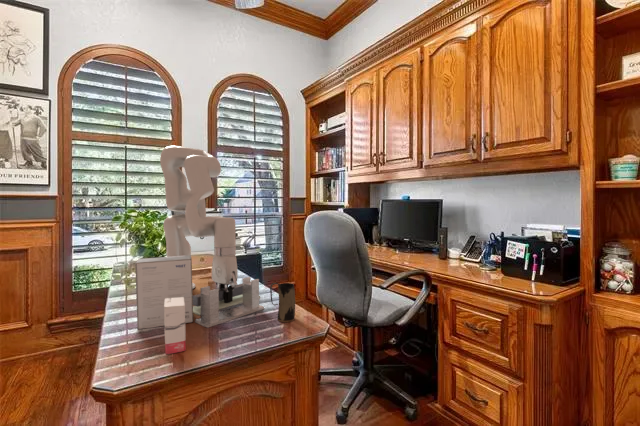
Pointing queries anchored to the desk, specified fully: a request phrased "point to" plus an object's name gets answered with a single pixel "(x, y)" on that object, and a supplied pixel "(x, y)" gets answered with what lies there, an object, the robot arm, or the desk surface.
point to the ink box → (174, 325)
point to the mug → (285, 302)
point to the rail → (237, 291)
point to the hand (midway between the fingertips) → (225, 300)
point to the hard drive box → (162, 288)
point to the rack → (214, 317)
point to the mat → (222, 304)
